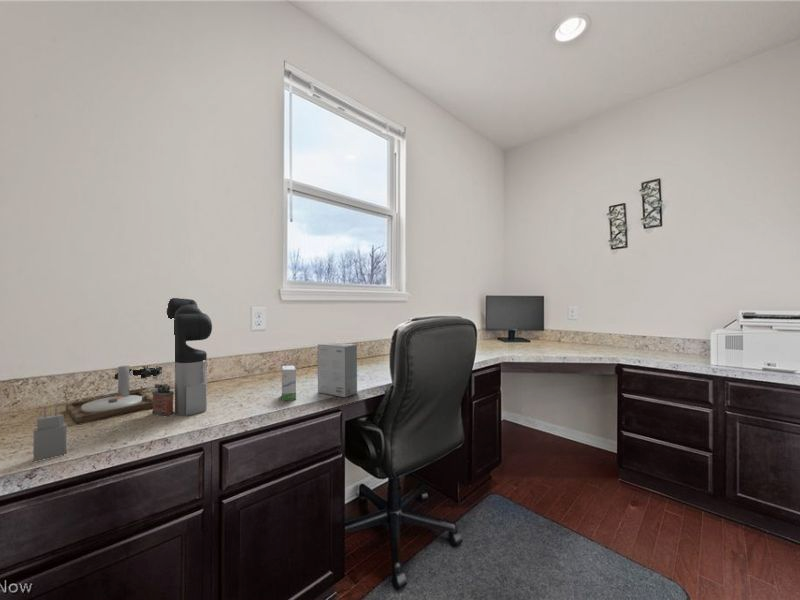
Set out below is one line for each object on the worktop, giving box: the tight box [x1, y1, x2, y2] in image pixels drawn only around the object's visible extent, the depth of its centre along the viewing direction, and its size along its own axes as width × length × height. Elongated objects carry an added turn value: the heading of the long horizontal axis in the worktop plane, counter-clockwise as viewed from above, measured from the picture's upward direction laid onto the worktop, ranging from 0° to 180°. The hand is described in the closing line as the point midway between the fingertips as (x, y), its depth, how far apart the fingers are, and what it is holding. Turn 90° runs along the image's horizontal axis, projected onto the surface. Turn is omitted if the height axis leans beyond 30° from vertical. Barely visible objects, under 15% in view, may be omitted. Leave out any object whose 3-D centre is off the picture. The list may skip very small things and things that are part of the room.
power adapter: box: [32, 405, 68, 462], centre depth 80 cm, size 3×5×12 cm, turn 134°
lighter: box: [151, 383, 175, 417], centre depth 110 cm, size 8×3×10 cm, turn 71°
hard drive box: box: [317, 342, 358, 398], centre depth 135 cm, size 16×8×20 cm, turn 58°
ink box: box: [281, 365, 297, 402], centre depth 129 cm, size 8×5×12 cm, turn 22°
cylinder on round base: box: [81, 365, 142, 414], centre depth 115 cm, size 16×16×12 cm
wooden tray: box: [65, 390, 153, 426], centre depth 115 cm, size 21×21×2 cm
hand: (129, 376), depth 127 cm, fingers open, 8 cm apart
